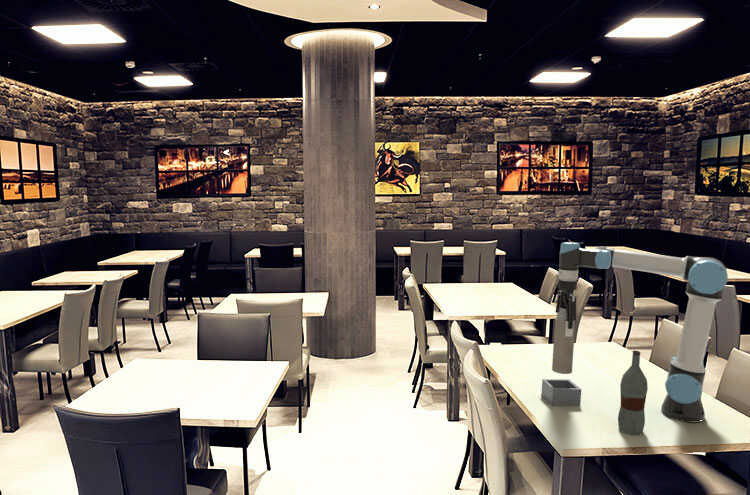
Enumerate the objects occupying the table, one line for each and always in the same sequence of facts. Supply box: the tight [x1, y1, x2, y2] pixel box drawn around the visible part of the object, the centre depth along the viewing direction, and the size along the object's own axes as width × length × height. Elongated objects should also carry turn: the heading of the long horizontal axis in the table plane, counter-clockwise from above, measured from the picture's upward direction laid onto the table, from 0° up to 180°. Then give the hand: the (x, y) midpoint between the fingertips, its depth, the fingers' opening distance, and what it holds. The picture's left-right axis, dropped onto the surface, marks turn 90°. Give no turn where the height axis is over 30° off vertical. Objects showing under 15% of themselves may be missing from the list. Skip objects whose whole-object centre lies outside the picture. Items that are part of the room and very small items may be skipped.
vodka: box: [617, 350, 649, 436], centre depth 201 cm, size 9×9×30 cm
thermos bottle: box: [551, 305, 576, 375], centre depth 227 cm, size 8×8×28 cm
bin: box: [541, 378, 582, 407], centre depth 230 cm, size 12×12×7 cm
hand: (564, 333), depth 227 cm, fingers closed on thermos bottle, 8 cm apart
